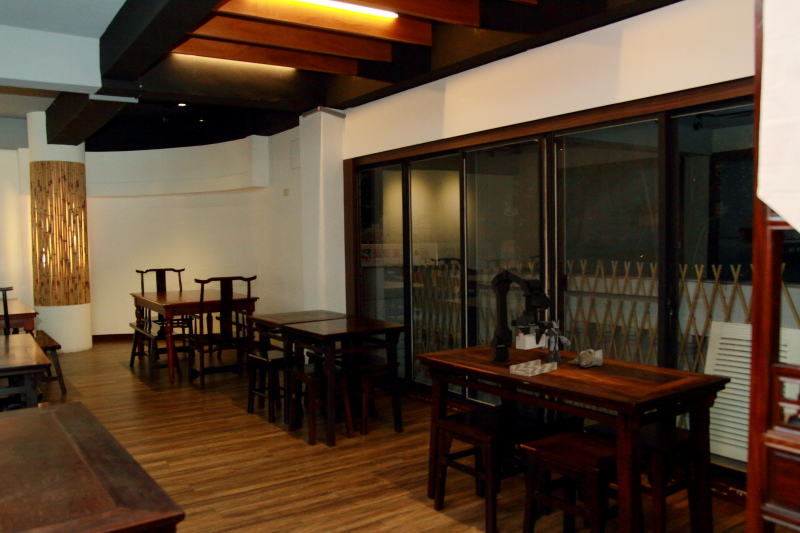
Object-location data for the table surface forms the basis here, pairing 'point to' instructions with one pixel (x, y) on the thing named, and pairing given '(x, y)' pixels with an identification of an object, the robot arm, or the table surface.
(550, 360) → the robot
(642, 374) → the table surface
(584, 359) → the ceramic sculpture
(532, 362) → the cradle
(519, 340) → the white bar with tab
